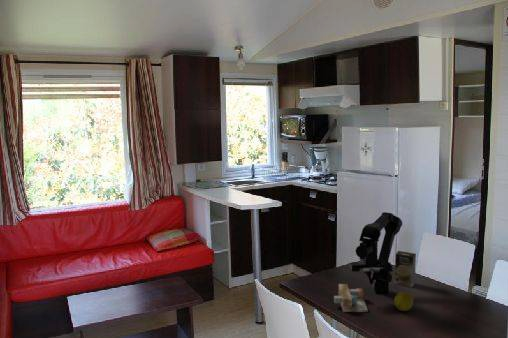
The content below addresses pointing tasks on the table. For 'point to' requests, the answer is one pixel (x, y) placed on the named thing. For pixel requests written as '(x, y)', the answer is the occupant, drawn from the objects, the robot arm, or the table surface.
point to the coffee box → (405, 268)
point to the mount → (350, 301)
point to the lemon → (403, 301)
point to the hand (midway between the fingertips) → (370, 284)
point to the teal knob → (339, 299)
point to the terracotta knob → (357, 292)
